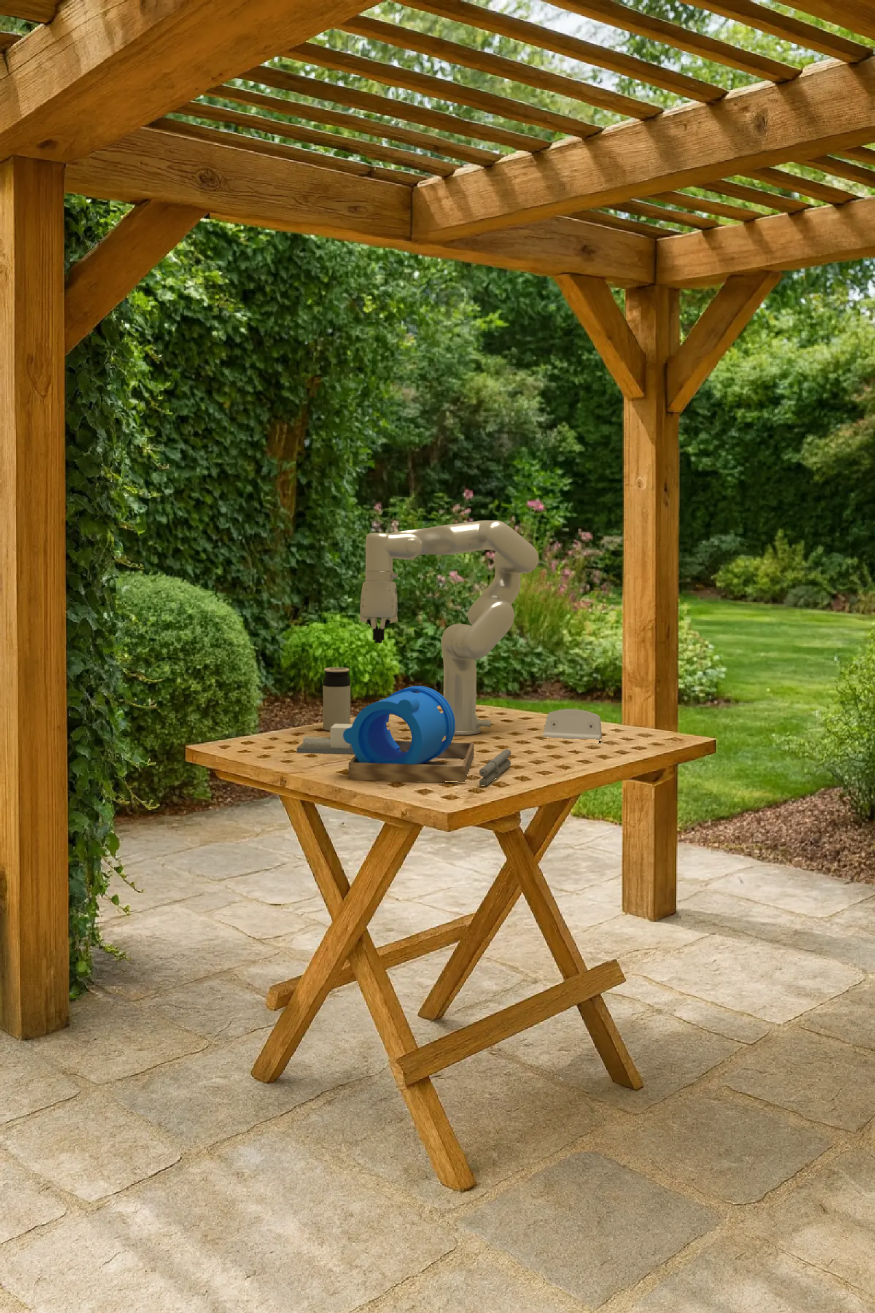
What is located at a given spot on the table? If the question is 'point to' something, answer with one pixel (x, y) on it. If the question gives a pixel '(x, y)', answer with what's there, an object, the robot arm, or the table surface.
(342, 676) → the travel mug
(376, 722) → the tube
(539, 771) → the table surface
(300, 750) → the rail board
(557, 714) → the grey mounting bracket
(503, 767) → the metal rod assembly
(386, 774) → the brown wooden tray
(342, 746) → the block
